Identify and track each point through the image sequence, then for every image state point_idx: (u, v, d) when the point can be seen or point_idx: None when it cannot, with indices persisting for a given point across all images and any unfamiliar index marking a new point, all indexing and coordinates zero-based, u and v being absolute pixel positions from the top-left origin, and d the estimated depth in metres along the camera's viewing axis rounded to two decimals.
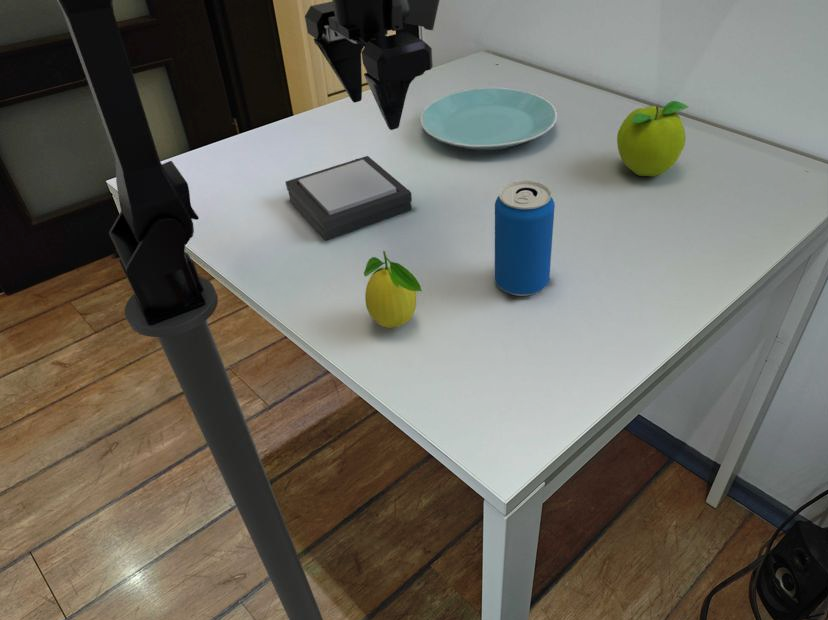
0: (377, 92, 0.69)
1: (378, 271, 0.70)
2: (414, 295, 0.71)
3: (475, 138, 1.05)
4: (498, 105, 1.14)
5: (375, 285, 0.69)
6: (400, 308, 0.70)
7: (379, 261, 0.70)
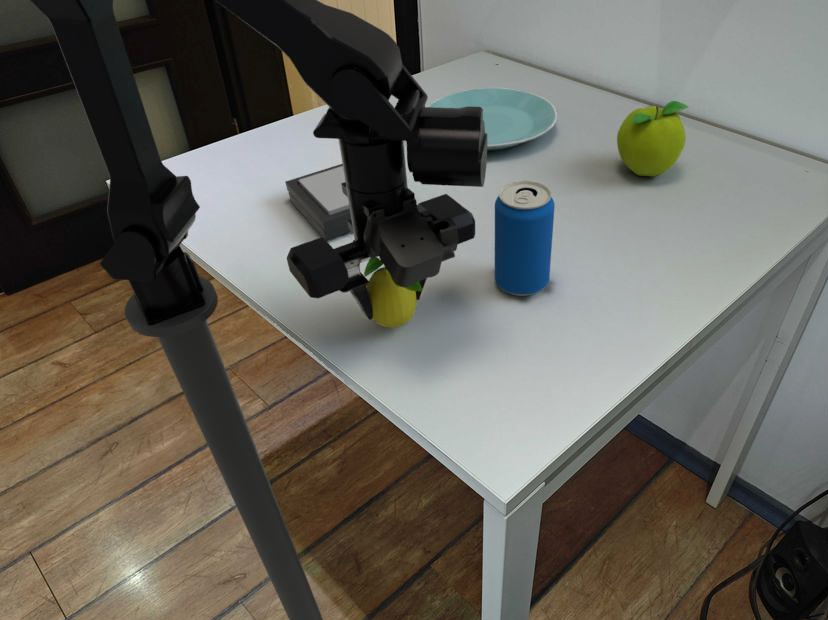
0: None
1: (378, 271, 0.70)
2: (414, 295, 0.71)
3: None
4: (498, 105, 1.14)
5: (375, 285, 0.69)
6: (400, 308, 0.70)
7: (379, 261, 0.70)
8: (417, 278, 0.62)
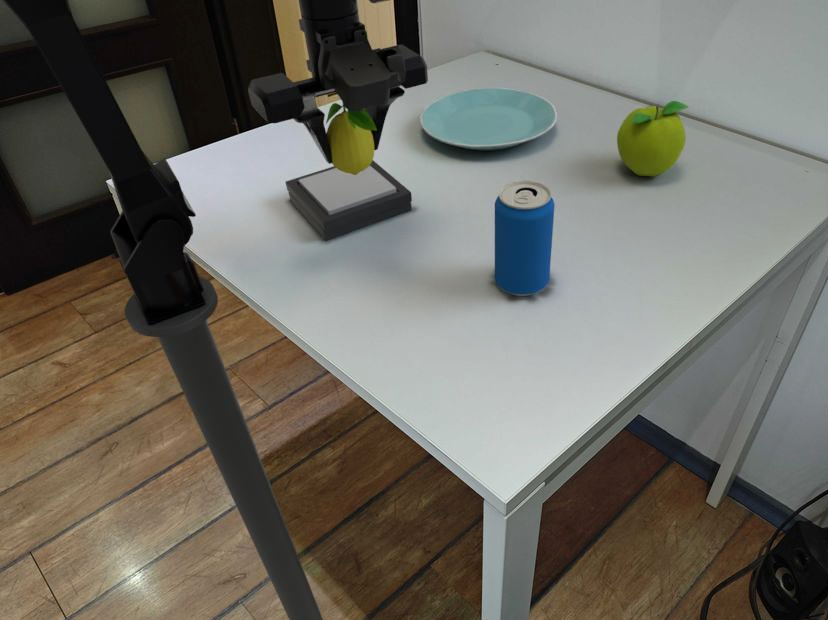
0: None
1: (337, 115, 0.75)
2: (371, 141, 0.76)
3: (475, 138, 1.05)
4: (498, 105, 1.14)
5: (333, 127, 0.74)
6: (357, 150, 0.75)
7: (338, 106, 0.75)
8: (366, 103, 0.66)
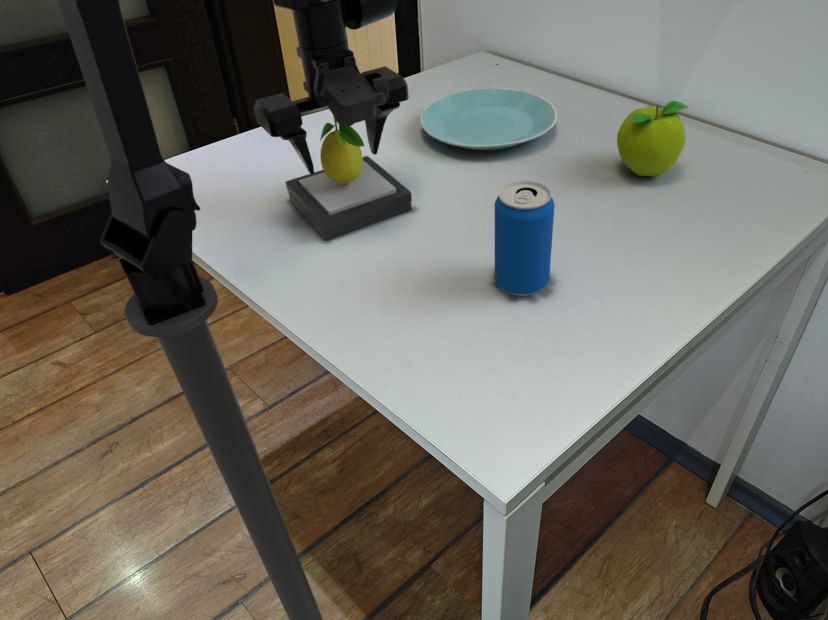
0: None
1: (330, 133, 0.86)
2: (360, 155, 0.88)
3: (475, 138, 1.05)
4: (498, 105, 1.14)
5: (327, 143, 0.86)
6: (348, 163, 0.86)
7: (331, 125, 0.86)
8: (355, 119, 0.78)
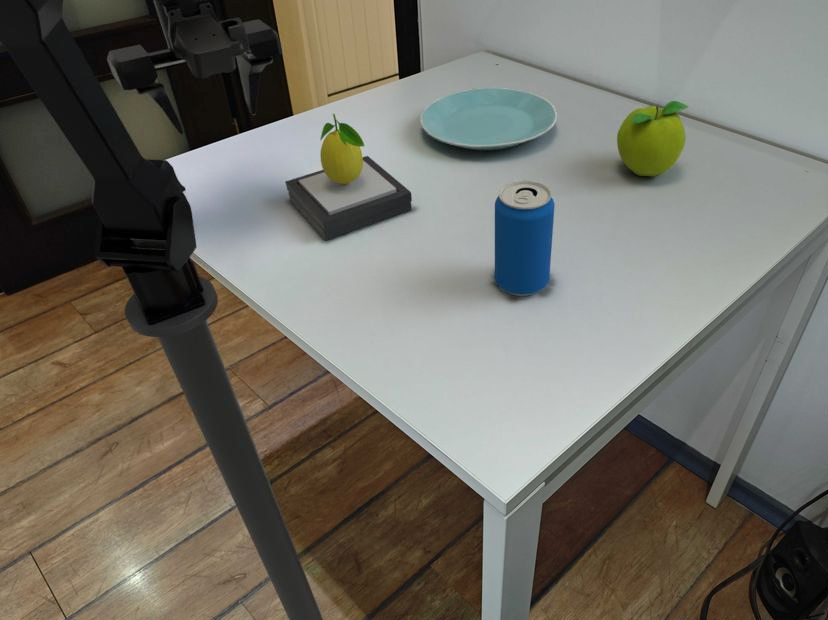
0: None
1: (330, 133, 0.86)
2: (360, 155, 0.88)
3: (475, 138, 1.05)
4: (498, 105, 1.14)
5: (327, 143, 0.86)
6: (348, 163, 0.86)
7: (331, 125, 0.86)
8: (211, 70, 0.73)
